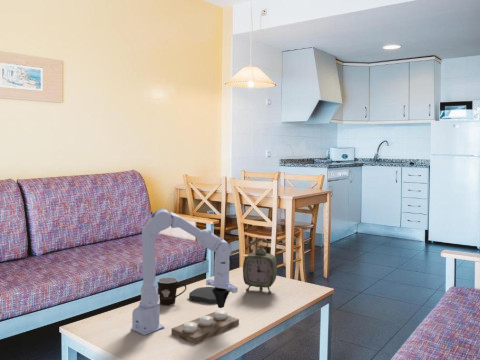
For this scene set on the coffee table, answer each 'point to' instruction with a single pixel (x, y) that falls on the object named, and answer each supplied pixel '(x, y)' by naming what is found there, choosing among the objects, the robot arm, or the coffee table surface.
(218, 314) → the knob far
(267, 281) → the tabletop clock
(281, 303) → the coffee table surface
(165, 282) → the coffee mug
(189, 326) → the knob near
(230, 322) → the brown wooden board
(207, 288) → the media streaming box
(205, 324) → the knob middle
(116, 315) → the coffee table surface
